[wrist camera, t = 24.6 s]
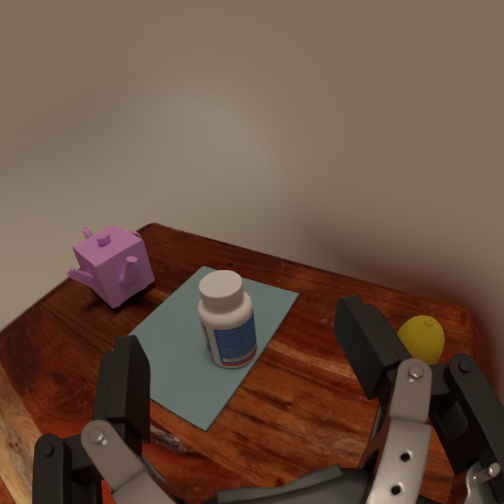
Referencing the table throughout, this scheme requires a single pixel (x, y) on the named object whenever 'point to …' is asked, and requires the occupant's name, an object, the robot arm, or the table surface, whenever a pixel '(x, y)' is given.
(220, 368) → the cloth mat
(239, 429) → the table surface
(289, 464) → the table surface
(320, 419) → the table surface
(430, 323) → the lemon
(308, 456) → the table surface
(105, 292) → the teapot
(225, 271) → the pill bottle
